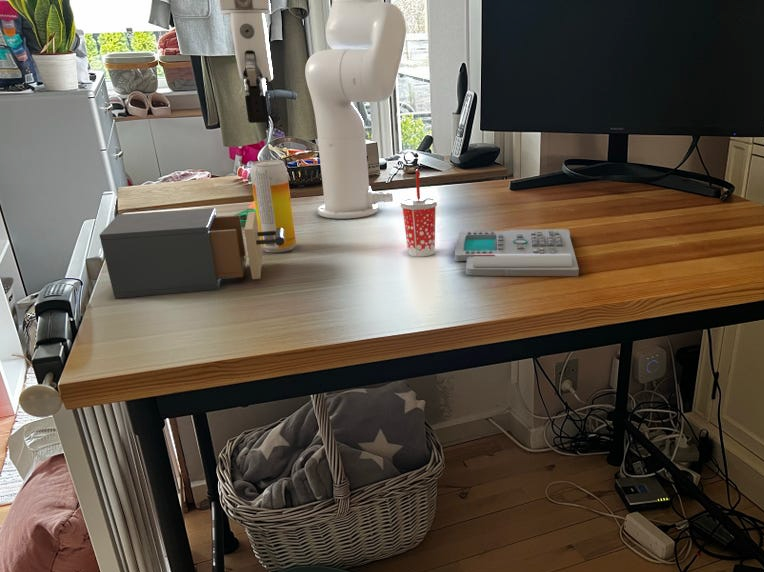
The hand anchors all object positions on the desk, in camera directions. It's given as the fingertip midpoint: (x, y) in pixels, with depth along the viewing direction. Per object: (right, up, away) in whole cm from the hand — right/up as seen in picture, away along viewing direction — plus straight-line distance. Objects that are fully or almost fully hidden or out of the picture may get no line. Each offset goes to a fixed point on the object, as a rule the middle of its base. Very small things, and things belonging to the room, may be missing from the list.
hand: (260, 119), depth 120 cm
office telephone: (+42, -22, +4) cm, 48 cm away
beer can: (0, -20, +10) cm, 22 cm away
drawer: (-3, -26, -5) cm, 26 cm away
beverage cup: (+26, -21, +6) cm, 34 cm away
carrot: (-11, -10, +31) cm, 35 cm away
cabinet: (-12, -27, -6) cm, 30 cm away
